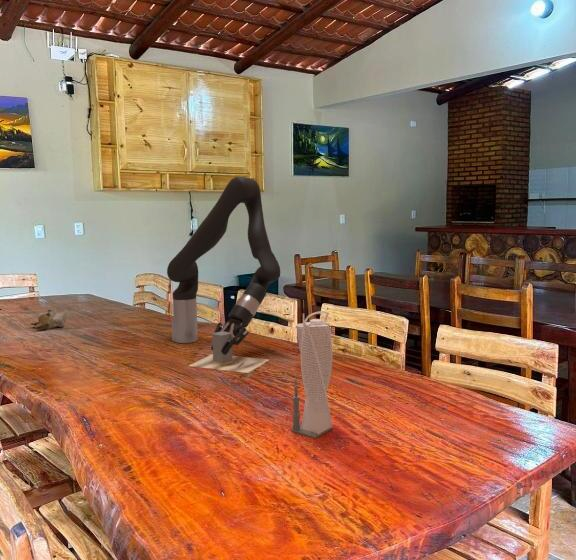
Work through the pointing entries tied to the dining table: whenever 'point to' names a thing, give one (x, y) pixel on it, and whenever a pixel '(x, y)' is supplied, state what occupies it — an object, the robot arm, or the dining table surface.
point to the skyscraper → (314, 378)
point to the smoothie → (300, 333)
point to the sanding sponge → (218, 344)
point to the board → (232, 364)
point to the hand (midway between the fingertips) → (218, 351)
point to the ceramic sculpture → (50, 320)
